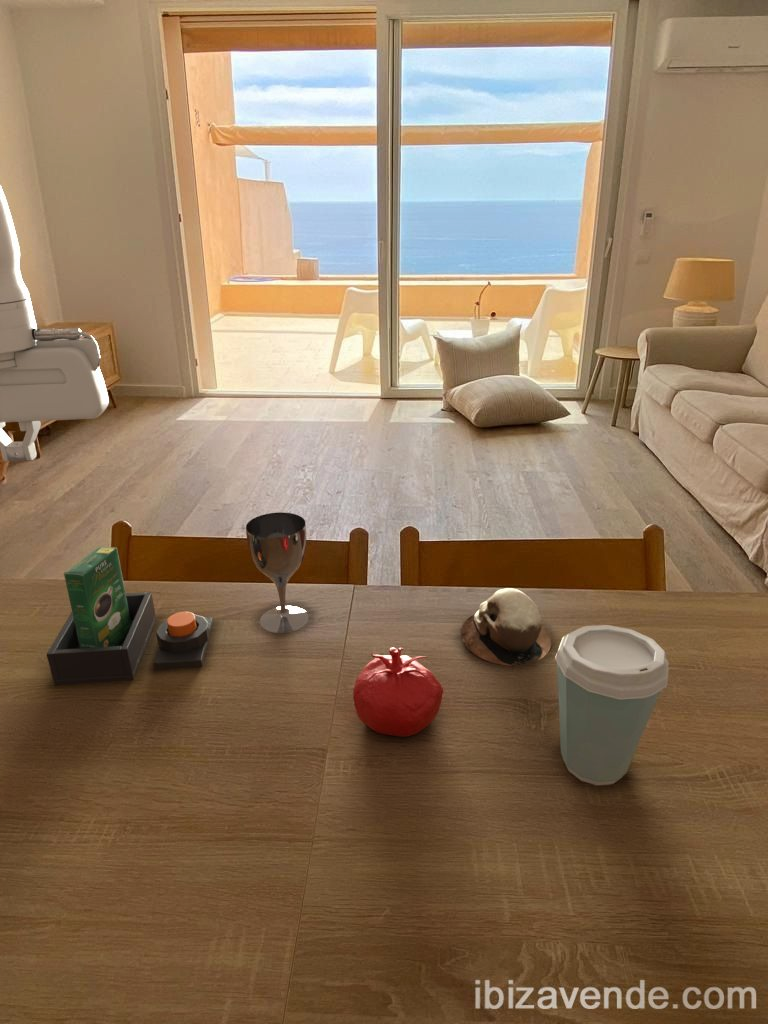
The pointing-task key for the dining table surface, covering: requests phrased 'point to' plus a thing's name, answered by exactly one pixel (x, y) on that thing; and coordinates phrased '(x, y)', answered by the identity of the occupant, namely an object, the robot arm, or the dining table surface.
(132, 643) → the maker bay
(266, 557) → the wine glass
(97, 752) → the dining table surface
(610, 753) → the disposable coffee cup
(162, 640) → the panel
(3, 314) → the robot arm
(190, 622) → the button
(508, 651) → the skull
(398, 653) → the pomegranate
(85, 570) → the coffee box
